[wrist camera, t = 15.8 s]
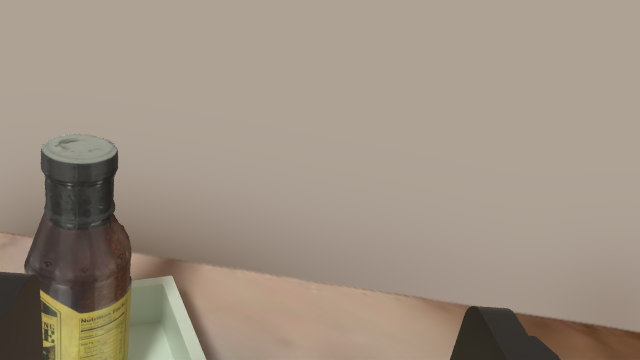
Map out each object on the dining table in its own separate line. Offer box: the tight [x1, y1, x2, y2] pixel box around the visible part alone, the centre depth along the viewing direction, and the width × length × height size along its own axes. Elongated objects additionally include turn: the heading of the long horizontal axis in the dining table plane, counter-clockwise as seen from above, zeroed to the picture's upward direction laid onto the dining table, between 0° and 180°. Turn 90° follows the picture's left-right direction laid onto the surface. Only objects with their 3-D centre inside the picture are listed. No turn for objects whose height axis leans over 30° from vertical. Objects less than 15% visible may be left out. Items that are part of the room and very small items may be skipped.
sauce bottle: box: [24, 134, 132, 360], centre depth 36 cm, size 7×6×20 cm
